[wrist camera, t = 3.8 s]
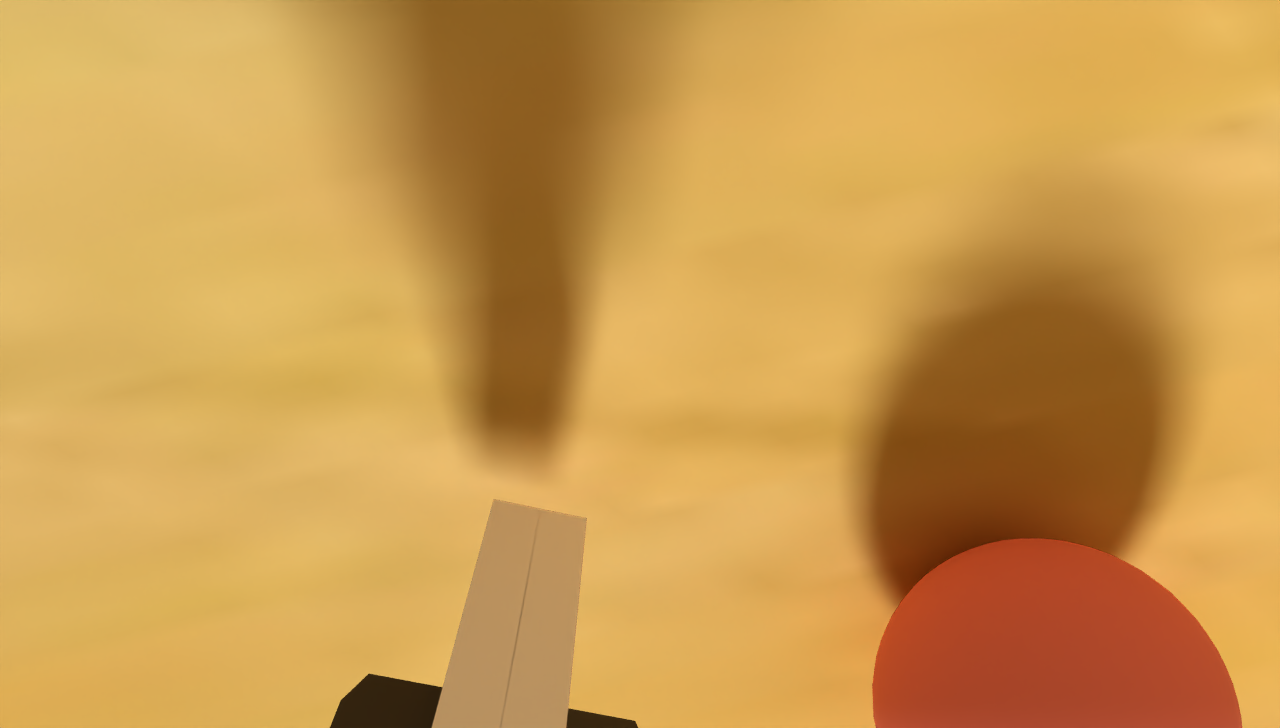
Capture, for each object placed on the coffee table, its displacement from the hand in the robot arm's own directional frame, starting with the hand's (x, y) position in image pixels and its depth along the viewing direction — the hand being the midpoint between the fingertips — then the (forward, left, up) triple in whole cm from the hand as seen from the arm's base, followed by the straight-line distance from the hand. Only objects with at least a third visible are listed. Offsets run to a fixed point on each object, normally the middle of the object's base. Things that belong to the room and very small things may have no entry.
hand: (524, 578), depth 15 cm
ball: (+8, +3, +1) cm, 9 cm away
